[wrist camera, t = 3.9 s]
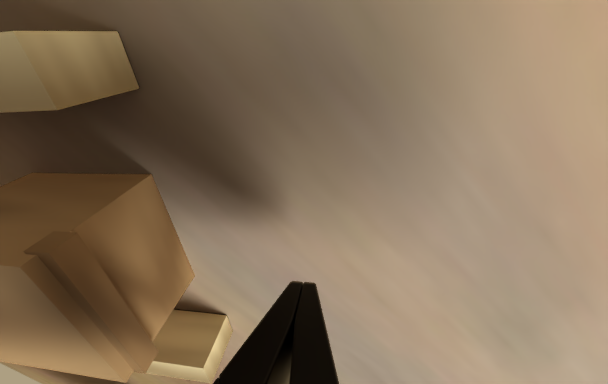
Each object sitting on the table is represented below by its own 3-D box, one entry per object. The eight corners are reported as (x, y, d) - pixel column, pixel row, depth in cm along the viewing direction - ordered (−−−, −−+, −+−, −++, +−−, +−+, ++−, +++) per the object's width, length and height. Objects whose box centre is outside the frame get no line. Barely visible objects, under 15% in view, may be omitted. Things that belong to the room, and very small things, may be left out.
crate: (204, 276, 13) (137, 386, 9) (93, 266, 15) (-11, 360, 10) (162, 170, 10) (32, 265, 6) (25, 169, 11) (-164, 248, 7)
